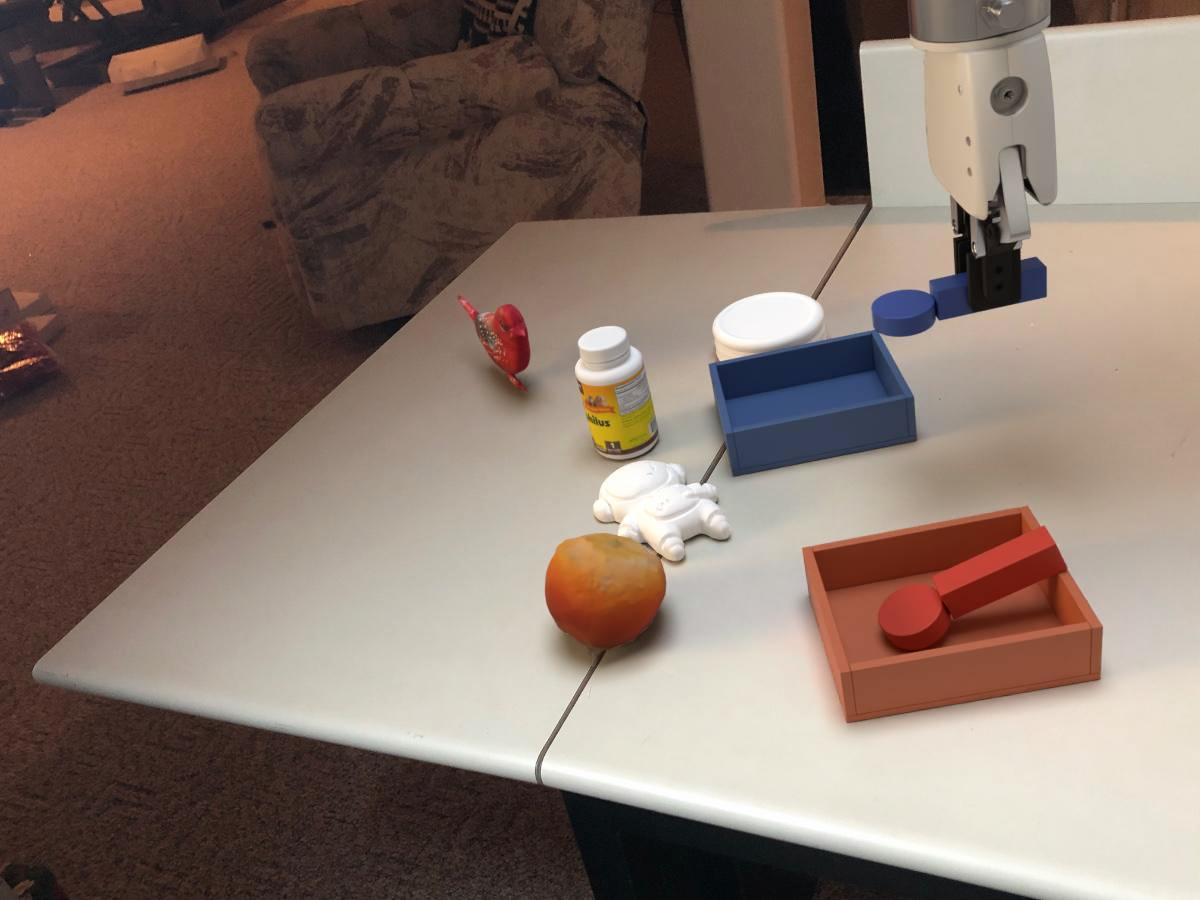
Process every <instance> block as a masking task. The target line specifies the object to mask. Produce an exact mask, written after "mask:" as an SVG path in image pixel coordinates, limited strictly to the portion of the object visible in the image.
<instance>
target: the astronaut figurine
mask: <svg viewBox="0 0 1200 900" xmlns="http://www.w3.org/2000/svg"><path fill="white" fill-rule="evenodd" d="M686 483H687V472H686V470H685V469H684V467H683V466H682V465H681V464H678V463H674V462H670V463H666V462H663V461H657V460H647V459H646V460H639V461H634V462H631V463H630V462H629V463H628V464H624V465H622V466H621V467H619V468H618V469H616V470H614V471H613V472H612V473H611V474H610V475H608V477H607V478H605V480H604V481H603V482H602V484H601V486H600V488H599V492H598V493H599V494H598V499H596V500H595V501H594V503H593V506H592V510H593V515H594V517H595V518H596V519H597V520H598V521H600V522H603V523H613V522H617V523H619V526H618V531H617V535H618V536H622V537H628V538H630V539H632V540H634V541H636V542H638V543H640V544H642V543H646V544H648V545H649V546H650V547H651V548H652V549H653V550H654V551H655V552H656V553H657V554H659V555H660V556H662V557H664V558H665V559H667V560H669V561H672V562H679V561H681V560H682V559H684V558H685V554H686V550H685V543H684V542H685V541H687V540H689V539H691V538H693V537H695V536H697V535H700V534H703V535H705V536H708V537H710V538H712V539H715V540H726V539H728V538H729V537H730V536H731V528H730V525H729V520H728V518H727V517H726V515H725V512H724V511H723V509H722V508H721V507H720V506H719V505H718V504H717V501H718V499H719V489H718V487H716V485H713V484H711V483H708V482H705V483H703V484H702V485H701V483H700V482H693V483H690V484H686Z"/></svg>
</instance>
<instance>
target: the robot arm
mask: <svg viewBox="0 0 1200 900" xmlns="http://www.w3.org/2000/svg"><path fill="white" fill-rule="evenodd" d="M907 13H908V24H909V25H908V27H909V28H908V29H909V38H910V39H909V40H910V45H911V46H912V47H913V49H916V50H919V51H922V52H923V57H924V58H923V74H924V75H923V76H924V78H923V79H924V81H923V82H924V85H923V86H924V115H925V116H924V117H925V134H926V145H927V147H926V148H927V154H928V160H929V161H928V162H929V166H930V169H931V173H932V175H933V176H934V177H935V179H936V180H937V181H938V183H939V184H940V185H941V187H943V188H944V190H945V191H946V192H947V193H948V194H949V200H950V202H949V203H950V219H951V220H950V221H951V229H952V232H953V234H954V235H955V237H952V246H953V263H954V275H955V274H960V273H964V272H967V285H968V305H969V307H970V309H971V310H972V311H973V312H977V313H981V312H980V311H982V312H985V311H984V310H986V311H990V310H989V309H991V310H994V309H993V308H995V309H999V308H998V307H1000V308H1003V306H1005V307H1008V306H1007V305H1009V306H1012V304H1014V305H1017V304H1016V303H1018V302H1019V301H1020V300H1021V260H1022V254H1021V253H1022V251H1021V249H1022V248H1023V241H1025V240H1028V239H1029V240H1030V239H1031V237H1032V230H1031V229H1032V228H1031V223H1030V216H1029V209H1028V208H1029V207H1028V203H1027V196H1026V193H1027V195H1029V196H1031V197H1032V199H1034V200H1035V201H1036V202H1037V203H1038V204H1039V205H1041V206H1043V207H1048V206H1051V205H1053V204H1054V203H1055V201H1056V199H1057V197H1058V159H1057V158H1058V157H1057V140H1056V139H1057V137H1056V136H1057V135H1056V120H1055V103H1054V93H1053V82H1052V73H1051V66H1050V58H1049V52H1048V45H1047V41H1046V36H1045V33H1044V32H1043V31H1044V30H1045V29H1047V28H1048V27H1049V26H1050V24H1051V0H907ZM959 235H960V236H959ZM1018 304H1019V303H1018Z"/></svg>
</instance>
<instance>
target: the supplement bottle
mask: <svg viewBox="0 0 1200 900" xmlns="http://www.w3.org/2000/svg"><path fill="white" fill-rule="evenodd" d="M577 346H578V351H579V357H580V358H578V361H577V362H576V364H575V367H574V373H575V378H576V382H577V385H578V386H577V387H578V389H579V393H580V397H581V400H582V404H583V408H584V412H585V416H586V420H587V424H588V427H589V432H590V435H591V440H592V442H593V446H594V448H595V450H596V451H597V453H598V454H600V455H601V456H602V457H605V458H607V459H611V460H628V459H629V460H630V459H633V458H636V457H639V456H642V455H643V454H645V453H646V452H648V451H650V450H651V449H653V447H654V446H655V445H656V443H657V441H658V439H659V435H660V432H659V431H660V430H659V425H658V421H657V415H656V412H655V407H654V402H653V399H652V394H651V389H650V384H649V380H648V376H647V369H646V366H645V361H644V357H643V355H642V353H641V351H640V350H639V349H637V348H636V347H634V346H633V345H631V343H630V341H629V337H628V333H627V331H626V330H625V329H624V328H623V327H620V326H616V325H605V326H600V327H597V328H593V329H590V330H588V331H587V332H585V333H583V334H582V335H581V336H580V338H578V341H577Z"/></svg>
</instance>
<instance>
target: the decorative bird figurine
mask: <svg viewBox="0 0 1200 900" xmlns="http://www.w3.org/2000/svg"><path fill="white" fill-rule="evenodd" d="M456 297H457V299H458V301H459V302H460V304H461V306H462V307H463V308H464V310H465V312H466V313H467V314H468V316H469V317H470V319H471V321H472V322H473V324H474V328H475V331H476V334H477V337H478V339H479V341H480V342H481V344H482V346H483V348H484V350H485V351H486V353H487V355H488V356H489V358H490V359H491V361H492V362H493V363H494V364H495V365H496V366H497V367H498V368H499V369H500V370H501V371H503V372H505V375H507V376H508V379H509V381H510V382H511V383H512V384H513V385H514V386H515V387H516V388H517V389H521V390H524V391H525V392H527V393H528V392H529V391H528V390H527V388H526V387H525V386H524V385H523V382H522V381H521V380H520V379H518V377H517V374H520V373H521V372H524V371H525V370H526V369H527V368H528V367H529V364H530V361H531V345H530V340H529V331H528V327H527V324H526V321H525V318H524V316H523V315H522V313H521V311H520V310H519V308H518V307H517V306H515V305H514V304H512V303H507V304H506V303H505V304H503V305H501V306H499V307H498V308H497V309H496V311H483V312H479V311H478V310H476V308H475V307H473V306H472V305H471V304H470V303H469V302H468V301H467V300H466V299H465V298H464V297H463V296H461V295H459V294H458V295H457V296H456Z"/></svg>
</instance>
